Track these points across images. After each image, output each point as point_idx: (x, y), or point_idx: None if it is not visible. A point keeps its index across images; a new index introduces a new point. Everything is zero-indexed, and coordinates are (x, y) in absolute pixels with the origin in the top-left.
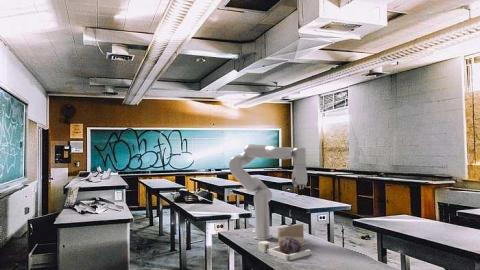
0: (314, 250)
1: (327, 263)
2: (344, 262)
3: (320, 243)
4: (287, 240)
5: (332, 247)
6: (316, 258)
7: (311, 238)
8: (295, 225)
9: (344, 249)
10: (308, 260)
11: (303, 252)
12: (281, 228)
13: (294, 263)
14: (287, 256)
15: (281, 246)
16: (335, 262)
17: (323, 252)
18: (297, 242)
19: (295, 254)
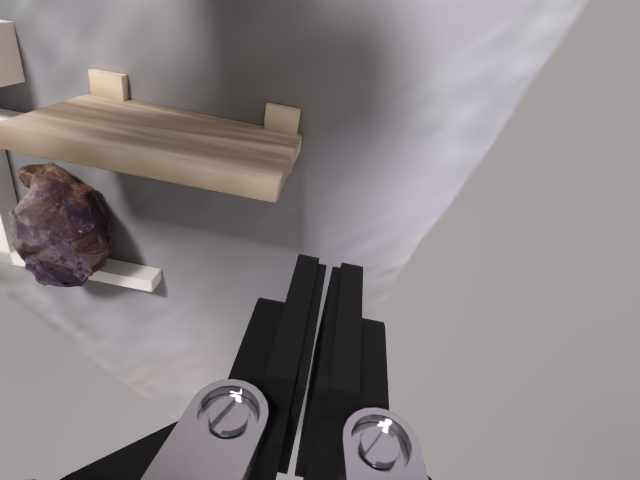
0: (226, 263)
1: (127, 366)
2: (184, 399)
3: (367, 226)
4: (16, 235)
5: None
6: (139, 318)
7: (455, 119)
8: (185, 179)
9: None
10: (93, 307)
11: (103, 280)
12: (16, 150)
13: (19, 285)
14: (2, 256)
15: (23, 182)
16: (159, 380)
17: (230, 305)
18: (75, 269)
19: None
